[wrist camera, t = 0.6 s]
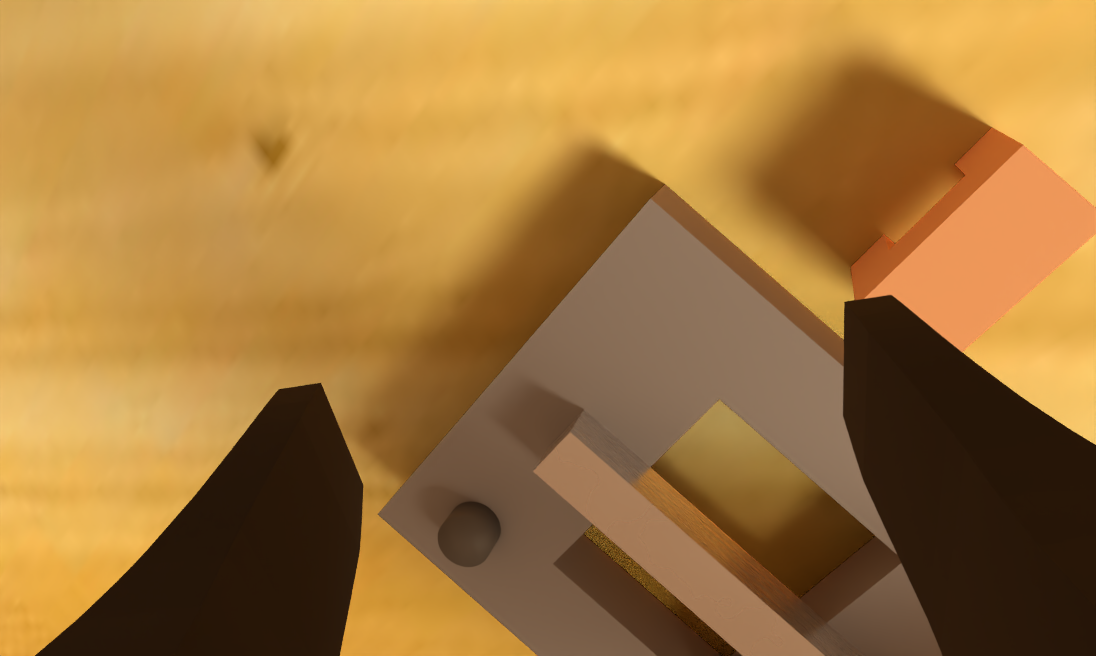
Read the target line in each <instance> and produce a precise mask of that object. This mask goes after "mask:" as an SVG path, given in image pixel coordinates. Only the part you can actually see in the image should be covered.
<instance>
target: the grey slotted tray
mask: <svg viewBox="0 0 1096 656" xmlns="http://www.w3.org/2000/svg"><path fill="white" fill-rule="evenodd" d="M843 372H844V340H843V339H841V338H840V337H839V336H838V335H837V334H836V333H835V332H833V331H832V330H831V329H830V328H829V327H828V326H827V325H825V324H824V323H823V322H822V321H821V320H820V319H819V318H817V317H816V316H815V315H814V314H813V313H812V312H811V311H809V310H808V309H807V308H806V307H805V306H804V305H803V304H801V303H800V302H799V301H798V300H797V299H796V298H795V297H793V296H792V295H791V294H790V293H789V292H788V291H787V290H785V289H784V288H783V287H782V286H781V285H780V284H779V283H777V282H776V281H775V280H774V279H773V278H772V277H771V276H769V275H768V274H767V273H766V272H765V271H764V270H763V269H761V268H760V267H759V266H758V265H757V264H756V263H754V262H753V261H752V260H751V259H750V258H749V257H748V256H746V255H745V254H744V253H743V252H742V251H741V250H740V249H738V248H737V247H736V246H735V245H734V244H733V243H732V242H730V241H729V240H728V239H727V238H726V237H725V236H724V235H722V234H721V233H720V232H719V231H718V230H717V229H716V228H714V227H713V226H712V225H711V224H710V223H709V222H708V221H706V220H705V219H704V218H703V217H702V216H701V215H700V214H698V213H697V212H696V211H695V210H694V209H693V208H692V207H690V206H689V205H688V204H687V203H686V202H685V201H684V200H682V199H681V198H680V197H679V196H678V195H677V194H676V193H674V192H673V191H672V190H671V189H670V188H669V187H667V186H666V185H664V186H663V187H662V188H661V189H660V190H659V191H658V192H657V193H656V194H655V195H653V196H652V197H651V198H650V200H649V201H648V202H647V203H646V204H645V205H644V207H643V208H642V209H641V210H640V211H639V212H638V213H637V215H636V216H635V217H634V218H633V219H632V220H631V222H630V223H629V224H628V225H627V226H626V227H625V229H624V230H623V231H622V232H621V233H620V234H619V235H618V237H617V238H616V239H615V240H614V241H613V242H612V244H611V245H610V246H609V247H608V248H607V249H606V251H605V252H604V253H603V254H602V255H601V256H600V257H599V259H598V260H597V261H596V262H595V263H594V264H593V266H592V267H591V268H590V269H589V270H588V271H587V273H586V274H585V275H584V276H583V277H582V278H581V279H580V281H579V282H578V283H577V284H576V285H575V286H574V288H573V289H572V290H571V291H570V292H569V293H568V295H567V296H566V297H565V298H564V299H563V300H562V301H561V303H560V304H559V305H558V306H557V307H556V308H555V310H554V311H553V312H552V313H551V314H550V315H549V317H548V318H547V319H546V320H545V321H544V322H543V323H542V325H541V326H540V327H539V328H538V329H537V330H536V332H535V333H534V334H533V335H532V336H531V337H530V339H529V340H528V341H527V342H526V343H525V344H524V345H523V347H522V348H521V349H520V350H519V351H518V352H517V354H516V355H515V356H514V357H513V358H512V359H511V361H510V362H509V363H508V364H507V365H506V366H505V367H504V369H503V370H502V371H501V372H500V373H499V374H498V376H497V377H496V378H495V379H494V380H493V381H492V382H491V384H490V385H489V386H488V387H487V388H486V389H485V391H484V392H483V393H482V394H481V395H480V396H479V398H478V399H477V400H476V401H475V402H474V403H473V404H472V406H471V407H470V408H469V409H468V410H467V411H466V413H465V414H464V415H463V416H462V417H461V418H460V420H459V421H458V422H457V423H456V424H455V425H454V426H453V428H452V429H451V430H450V431H449V432H448V433H447V435H446V436H445V437H444V438H443V439H442V440H441V442H440V443H439V444H438V445H437V446H436V447H435V448H434V450H433V451H432V452H431V453H430V454H429V455H428V457H427V458H426V459H425V460H424V461H423V462H422V464H421V465H420V466H419V467H418V468H417V469H416V470H415V472H414V473H413V474H412V475H411V476H410V477H409V479H408V480H407V481H406V482H405V483H404V484H403V486H402V487H401V488H400V489H399V490H398V491H397V492H396V494H395V495H394V496H393V497H392V498H391V499H390V501H389V502H388V503H387V504H386V505H385V506H384V508H383V509H382V510H381V511H380V512H379V513H378V515H379V516H380V517H381V518H382V519H384V520H385V521H386V522H387V523H388V524H389V525H390V526H392V527H393V528H394V529H395V530H396V531H397V532H398V533H399V534H401V535H402V536H403V537H404V538H405V539H406V540H407V541H409V542H410V543H411V544H412V545H413V546H414V547H415V548H416V549H418V550H419V551H420V552H421V553H422V554H423V555H424V556H426V557H427V558H428V559H429V560H430V561H431V562H432V563H433V564H435V565H436V566H437V567H438V568H439V569H440V570H441V571H443V572H444V573H445V574H446V575H447V576H448V577H449V578H450V579H452V580H453V581H454V582H455V583H456V584H457V585H458V586H460V587H461V588H462V589H463V590H464V591H465V592H466V593H467V594H469V595H470V596H471V597H472V598H473V599H474V600H475V601H477V602H478V603H479V604H480V605H481V606H482V607H483V608H484V609H486V610H487V611H488V612H489V613H490V614H491V615H492V616H494V617H495V618H496V619H497V620H498V621H499V622H500V623H501V624H503V625H504V626H505V627H506V628H507V629H508V630H509V631H511V632H512V633H513V634H514V635H515V636H516V637H517V638H518V639H520V640H521V641H522V642H523V643H524V644H525V645H526V646H528V647H529V648H530V649H531V650H532V651H533V652H534V653H535V654H537V655H538V656H721V655H720V654H719V653H718V652H717V651H716V650H715V649H713V648H712V647H711V646H710V645H709V644H708V643H707V642H705V641H704V640H703V639H702V638H701V637H700V636H699V635H697V634H696V633H695V632H694V631H693V630H692V629H691V628H690V627H688V626H687V625H686V624H685V623H684V622H683V621H682V620H680V619H679V618H678V617H677V616H676V615H675V614H674V613H672V612H671V611H670V610H669V609H668V608H667V607H666V606H665V605H663V604H662V603H661V602H660V601H659V600H658V599H657V598H655V597H654V596H653V595H652V594H651V593H650V592H649V591H647V590H646V589H645V588H644V587H643V586H642V585H641V584H639V583H638V582H637V581H636V580H635V579H634V578H633V577H632V576H630V575H629V574H628V573H627V572H626V571H625V570H624V569H622V568H621V567H620V566H619V565H618V564H617V563H616V562H614V561H613V560H612V559H611V558H610V557H609V556H608V555H607V554H605V553H604V552H603V551H602V550H601V549H600V548H599V547H597V546H596V545H595V544H594V543H593V542H592V541H591V540H589V539H588V538H587V537H586V536H585V535H584V534H583V533H584V532H585V531H586V530H587V529H588V528H589V527H590V526H591V525H592V524H593V525H594V526H596V527H597V528H598V529H599V530H600V531H601V532H602V533H604V534H605V535H606V536H607V537H608V538H609V539H610V540H611V541H613V542H614V543H615V544H616V545H617V546H618V547H619V548H621V549H622V550H623V551H624V552H625V553H626V554H627V555H629V556H630V557H631V558H632V559H633V560H634V561H635V562H637V563H638V564H639V565H640V566H641V567H642V568H643V569H644V570H646V571H647V572H648V573H649V574H650V575H651V576H652V577H654V578H655V579H656V580H657V581H658V582H659V583H660V584H662V585H663V586H664V587H665V588H666V589H667V590H668V591H669V592H671V593H672V594H673V595H674V596H675V597H676V598H677V599H679V600H680V601H681V602H682V603H683V604H684V605H685V606H687V607H688V608H689V609H690V610H691V611H692V612H693V613H694V614H696V615H697V616H698V617H699V618H700V619H701V620H702V621H704V622H705V623H706V624H707V625H708V626H709V627H710V628H712V629H713V630H714V631H715V632H716V633H717V634H718V635H719V636H721V637H722V638H723V639H724V640H725V641H726V642H727V643H729V644H730V645H731V646H732V647H733V648H734V649H735V650H737V651H736V652H735V653H733V654H732V655H731V656H942V653H941V651H940V648H939V646H938V643H937V641H936V638H935V636H934V634H933V631H932V629H931V626H930V624H929V622H928V619H927V617H926V615H925V613H924V611H923V608H922V606H921V604H920V602H919V600H918V598H917V596H916V593H915V591H914V589H913V587H912V585H911V583H910V581H909V578H908V576H907V574H906V572H905V570H904V568H903V566H902V563H901V561H900V559H899V557H898V555H897V553H896V551H895V548H894V546H893V544H892V542H891V540H890V538H889V536H888V534H887V531H886V529H885V527H884V525H883V523H882V521H881V518H880V516H879V514H878V512H877V510H876V507H875V505H874V503H873V501H872V499H871V497H870V494H869V492H868V490H867V488H866V485H865V483H864V481H863V478H862V475H861V472H860V469H859V466H858V463H857V460H856V457H855V454H854V451H853V447H852V444H851V441H850V437H849V434H848V431H847V428H846V424H845V421H844V418H843ZM719 399H720V400H721V401H722V402H723V403H725V404H726V405H727V406H728V407H729V408H730V409H731V410H733V411H734V412H735V413H736V414H737V415H738V416H739V417H740V418H742V419H743V420H744V421H745V422H746V423H747V424H748V425H750V426H751V427H752V428H753V429H754V430H755V431H756V432H758V433H759V434H760V435H761V436H762V437H763V438H764V439H766V440H767V441H768V442H769V443H770V444H771V445H772V446H774V447H775V448H776V449H777V450H778V451H779V452H780V453H782V454H783V455H784V456H785V457H786V458H787V459H788V460H790V461H791V462H792V463H793V464H794V465H795V466H796V467H798V468H799V469H800V470H801V471H802V472H803V473H804V474H806V475H807V476H808V477H809V478H810V479H811V480H812V481H814V482H815V483H816V484H817V485H818V486H819V487H820V488H822V489H823V490H824V491H825V492H826V493H827V494H828V495H830V496H831V497H832V498H833V499H834V500H835V501H836V502H838V503H839V504H840V505H841V506H842V507H843V508H844V509H846V510H847V511H848V512H849V513H850V514H851V515H852V516H854V517H855V518H856V519H857V520H858V521H859V522H860V523H861V524H863V525H864V526H865V527H866V528H867V529H868V530H869V531H871V532H872V533H873V534H874V535H875V537H874V538H872V539H871V540H870V541H869V542H868V543H866V544H865V545H864V546H863V547H861V548H860V549H859V550H858V551H857V552H855V553H854V554H853V555H852V556H851V557H849V558H848V559H847V560H846V561H845V562H843V563H842V564H841V565H840V566H839V567H837V568H836V569H835V570H834V571H832V572H831V573H830V574H829V575H828V576H826V577H825V578H824V579H823V580H822V581H820V582H819V583H818V584H817V585H816V586H814V587H813V588H812V589H811V590H809V591H808V592H807V593H806V594H805V595H803V596H802V597H801V598H799V597H797V596H796V595H795V594H794V593H793V592H792V591H791V590H789V589H788V588H787V587H786V586H785V585H784V584H783V583H781V582H780V581H779V580H778V579H777V578H776V577H775V576H774V575H772V574H771V573H770V572H769V571H768V570H767V569H766V568H764V567H763V566H762V565H761V564H760V563H759V562H758V561H756V560H755V559H754V558H753V557H752V556H751V555H750V554H748V553H747V552H746V551H745V550H744V549H743V548H742V547H740V546H739V545H738V544H737V543H736V542H735V541H734V540H733V539H731V538H730V537H729V536H728V535H727V534H726V533H725V532H723V531H722V530H721V529H720V528H719V527H718V526H717V525H715V524H714V523H713V522H712V521H711V520H710V519H709V518H707V517H706V516H705V515H704V514H703V513H702V512H701V511H699V510H698V509H697V508H696V507H695V506H694V505H693V504H692V503H690V502H689V501H688V500H687V499H686V498H685V497H684V496H682V495H681V494H680V493H679V492H678V491H677V490H676V489H674V488H673V487H672V486H671V485H670V484H669V483H668V482H666V481H665V480H664V479H663V478H662V477H661V476H660V475H658V474H657V473H656V472H655V471H654V470H653V469H652V468H651V466H652V465H653V464H654V463H655V462H656V461H657V460H658V459H659V458H660V457H661V456H662V455H663V454H664V453H665V452H666V451H667V450H668V449H669V448H670V447H671V446H672V445H673V444H674V443H675V442H677V441H678V440H679V439H680V438H681V437H682V436H683V435H684V434H685V433H686V432H687V431H688V430H689V429H690V428H691V427H692V426H693V425H694V424H695V423H696V422H697V421H698V420H699V419H700V418H701V417H702V416H703V415H704V414H705V413H706V412H707V411H708V410H709V409H710V408H711V407H712V406H713V405H714V404H715V403H716V402H717V401H718V400H719Z"/></svg>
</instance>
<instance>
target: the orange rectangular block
mask: <svg viewBox="0 0 1096 656" xmlns="http://www.w3.org/2000/svg"><path fill="white" fill-rule="evenodd" d="M955 165H956V166H957V167H958V168H959V169H960V170H961V171H962V172H963V173H964V174H965V176H964V177H963V178H962V179H961V180H960V181H959V182H958V183H957V184H956V185H955V186H954V187H953V188H952V189H951V190H950V191H949V192H948V193H947V194H946V195H945V196H944V197H943V198H942V199H941V200H940V201H939V202H938V203H937V204H936V205H935V206H934V207H933V208H932V209H931V210H930V211H929V212H928V213H926V214H925V215H924V216H923V217H922V218H921V219H920V220H919V221H918V222H917V223H916V224H915V225H914V226H913V227H912V228H911V229H910V230H909V231H908V232H907V233H906V234H905V235H904V236H903V237H902V238H901V239H900V240H899V241H898V242H897V243H896V244H895V243H894V242H893V241H891V240H890V239H889V238H888V237H887V236H886V235H883V236H882V237H881V238H880V239H879V240H878V241H877V242H876V243H875V244H874V245H873V246H872V247H871V248H869V249H868V250H867V251H866V252H865V253H864V254H863V255H862V256H861V257H860V258H859V259H858V260H857V261H856V262H855V263H854V264H853V265H852V266H851V273H852V281H853V290H854V298H855V300H860V299H866V298H873V297H879V296H886V295H892V296H894V297H895V298H896V299H898V300H899V301H900V302H901V303H903V304H904V305H905V306H906V307H908V308H909V309H910V310H911V311H912V312H914V313H915V314H916V315H917V316H918V317H920V318H921V319H922V320H923V321H924V322H926V323H927V324H928V325H929V326H930V327H932V328H933V329H934V330H935V331H937V332H938V333H939V334H940V335H941V336H943V337H944V338H945V339H946V340H948V341H949V342H950V343H951V344H953V345H954V346H955V347H956V348H957V349H959V350H960V351H961V352H963V351H964V350H965V349H966V348H967V347H968V346H970V345H971V344H972V343H973V342H974V341H975V340H976V339H977V338H979V337H980V336H981V335H982V334H983V333H984V332H985V331H987V330H988V329H989V328H990V327H991V326H992V325H993V324H994V323H996V322H997V321H998V320H999V319H1000V318H1001V317H1002V316H1003V315H1005V314H1006V313H1007V312H1008V311H1009V310H1010V309H1011V308H1012V307H1014V306H1015V305H1016V304H1017V303H1018V302H1019V301H1020V300H1021V299H1023V298H1024V297H1025V296H1026V295H1027V294H1028V293H1029V292H1031V291H1032V290H1033V289H1034V288H1035V287H1036V286H1037V285H1038V284H1040V283H1041V282H1042V281H1043V280H1044V279H1045V278H1046V277H1047V276H1049V275H1050V274H1051V273H1052V272H1053V271H1054V270H1055V269H1056V268H1058V267H1059V266H1060V265H1061V264H1062V263H1063V262H1064V261H1066V260H1067V259H1068V258H1069V257H1070V256H1071V255H1072V254H1073V253H1075V252H1076V251H1077V250H1078V249H1079V248H1080V247H1081V246H1082V245H1084V244H1085V243H1086V242H1087V241H1088V240H1089V239H1090V238H1091V237H1093V236H1094V235H1095V234H1096V208H1095V207H1094V206H1093V205H1092V204H1091V203H1090V202H1088V201H1087V200H1086V199H1085V198H1084V197H1083V196H1081V195H1080V194H1079V193H1078V192H1077V191H1076V190H1075V189H1073V188H1072V187H1071V186H1070V185H1069V184H1068V183H1067V182H1065V181H1064V180H1063V179H1062V178H1061V177H1060V176H1058V175H1057V174H1056V173H1055V172H1054V171H1053V170H1052V169H1050V168H1049V167H1048V166H1047V165H1046V164H1045V163H1043V162H1042V161H1041V160H1040V159H1039V158H1038V157H1037V156H1035V155H1034V154H1033V153H1032V152H1031V151H1030V150H1029V149H1027V148H1026V147H1025V146H1024V145H1022V144H1021V143H1019V142H1017V141H1015V140H1013V139H1012V138H1010V137H1008V136H1006V135H1005V134H1003V133H1001V132H999V131H997V130H996V129H994V128H991V129H990V130H989V131H988V132H987V133H986V134H985V135H984V136H983V137H982V138H981V139H980V140H979V141H978V142H977V143H976V144H975V145H974V146H973V147H972V148H971V149H970V150H969V151H968V152H967V153H966V154H965V155H964V156H962V157H961V158H960V159H959V160H958V161H957V162H956V163H955Z"/></svg>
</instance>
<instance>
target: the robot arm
mask: <svg viewBox="0 0 1096 656" xmlns="http://www.w3.org/2000/svg"><path fill="white" fill-rule="evenodd" d="M843 418H844V421H845V424H846V428H847V431H848V434H849V437H850V441H851V444H852V447H853V451H854V454H855V457H856V460H857V463H858V466H859V469H860V472H861V475H862V478H863V481H864V483H865V485H866V488H867V490H868V492H869V494H870V497H871V499H872V501H873V503H874V505H875V507H876V510H877V512H878V514H879V516H880V518H881V521H882V523H883V525H884V527H885V529H886V531H887V534H888V536H889V538H890V540H891V542H892V544H893V546H894V548H895V551H896V553H897V555H898V557H899V559H900V561H901V563H902V566H903V568H904V570H905V572H906V574H907V576H908V578H909V581H910V583H911V585H912V587H913V589H914V591H915V593H916V596H917V598H918V600H919V602H920V604H921V606H922V608H923V611H924V613H925V615H926V617H927V619H928V622H929V624H930V626H931V629H932V631H933V634H934V636H935V638H936V641H937V643H938V646H939V648H940V651H941V653H942V656H1096V445H1095V444H1093V443H1091V442H1090V441H1088V440H1087V439H1085V438H1083V437H1082V436H1080V435H1078V434H1077V433H1075V432H1073V431H1072V430H1070V429H1069V428H1067V427H1066V426H1064V425H1062V424H1061V423H1059V422H1058V421H1056V420H1055V419H1053V418H1052V417H1050V416H1049V415H1047V414H1046V413H1044V412H1043V411H1041V410H1040V409H1038V408H1037V407H1035V406H1034V405H1032V404H1031V403H1029V402H1028V401H1027V400H1025V399H1024V398H1022V397H1021V396H1019V395H1018V394H1017V393H1015V392H1014V391H1013V390H1011V389H1010V388H1008V387H1007V386H1006V385H1004V384H1003V383H1002V382H1000V381H999V380H998V379H996V378H995V377H994V376H992V375H991V374H990V373H988V372H987V371H986V370H984V369H983V368H982V367H980V366H979V365H978V364H976V363H975V362H974V361H973V360H971V359H970V358H969V357H968V356H966V355H965V354H964V353H962V352H961V351H960V350H959V349H957V348H956V347H955V346H954V345H953V344H951V343H950V342H949V341H948V340H946V339H945V338H944V337H943V336H941V335H940V334H939V333H938V332H937V331H935V330H934V329H933V328H932V327H930V326H929V325H928V324H927V323H926V322H924V321H923V320H922V319H921V318H920V317H918V316H917V315H916V314H915V313H914V312H912V311H911V310H910V309H909V308H908V307H906V306H905V305H904V304H903V303H901V302H900V301H899V300H898V299H896V298H895V297H894V296H892V295H886V296H879V297H873V298H866V299H860V300H853V301H847V302H845V308H844V372H843ZM362 503H363V483H362V481H361V479H360V476H359V474H358V471H357V469H356V466H355V464H354V462H353V459H352V457H351V454H350V452H349V450H348V447H347V445H346V442H345V440H344V438H343V435H342V433H341V430H340V428H339V425H338V423H337V421H336V418H335V416H334V413H333V411H332V409H331V406H330V404H329V401H328V399H327V397H326V394H325V392H324V389H323V387H322V385H321V383H317V384H310V385H304V386H297V387H291V388H285V389H279V390H278V391H277V392H276V393H275V395H274V396H273V397H272V398H271V399H270V401H269V402H268V403H267V404H266V406H265V407H264V408H263V410H262V411H261V412H260V413H259V415H258V416H257V417H256V419H255V420H254V421H253V422H252V424H251V425H250V426H249V428H248V429H247V430H246V432H245V433H244V434H243V435H242V437H241V438H240V439H239V441H238V442H237V443H236V445H235V446H234V447H233V448H232V450H231V451H230V452H229V454H228V455H227V456H226V457H225V459H224V460H223V461H222V462H221V464H220V465H219V466H218V467H217V469H216V470H215V471H214V472H213V474H212V475H211V476H210V477H209V479H208V480H207V481H206V482H205V484H204V485H203V486H202V487H201V489H200V490H199V491H198V492H197V494H196V495H195V496H194V497H193V498H192V500H191V501H190V502H189V503H188V504H187V505H186V506H185V508H184V509H183V510H182V511H181V512H180V513H179V514H178V516H177V517H176V518H175V519H174V520H173V521H172V522H171V524H170V525H169V526H168V527H167V528H166V529H165V530H164V532H163V533H162V534H161V535H160V536H159V537H158V538H157V540H156V541H155V542H154V543H153V544H152V545H151V546H150V548H149V549H148V550H147V551H146V552H145V553H144V554H143V555H142V556H141V557H140V558H139V559H138V561H137V562H136V563H135V564H134V565H133V566H132V567H131V568H130V569H129V570H128V571H127V572H126V573H125V574H124V575H123V576H122V577H121V578H120V579H119V580H118V581H117V582H116V583H115V584H114V585H113V586H112V587H111V588H110V589H109V590H108V591H107V592H106V593H105V594H104V595H103V596H102V597H101V598H100V599H98V600H97V601H96V602H95V603H94V604H93V605H92V606H91V607H90V608H89V609H88V610H87V611H86V612H85V613H84V614H83V615H82V616H81V617H79V618H78V619H77V620H76V621H75V622H74V623H73V624H72V625H70V626H69V627H68V628H67V629H66V630H65V631H63V632H62V633H61V634H60V635H59V636H58V637H56V638H55V639H54V640H53V641H52V642H50V643H49V644H48V645H47V646H46V647H45V648H43V649H42V650H41V651H40V652H39V653H38V654H36V655H35V656H340V651H341V646H342V641H343V636H344V630H345V625H346V620H347V615H348V610H349V605H350V600H351V595H352V589H353V584H354V579H355V574H356V568H357V563H358V557H359V551H360V539H361V524H362Z"/></svg>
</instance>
